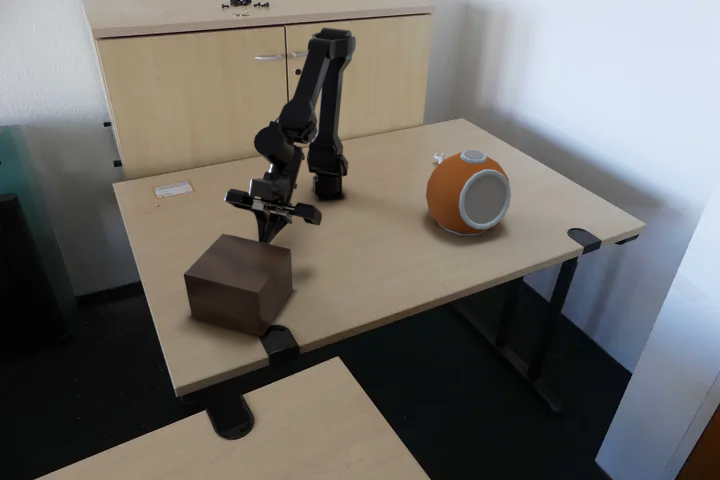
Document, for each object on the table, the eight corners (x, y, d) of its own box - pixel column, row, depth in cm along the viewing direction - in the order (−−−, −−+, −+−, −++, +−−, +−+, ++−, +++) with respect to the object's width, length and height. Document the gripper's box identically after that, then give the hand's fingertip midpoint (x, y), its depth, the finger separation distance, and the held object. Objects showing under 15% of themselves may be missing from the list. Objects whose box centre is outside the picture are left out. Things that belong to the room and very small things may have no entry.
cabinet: (228, 275, 109) (222, 233, 103) (293, 291, 106) (291, 249, 100) (191, 317, 99) (183, 273, 93) (262, 337, 95) (258, 292, 89)
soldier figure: (450, 165, 155) (472, 171, 144) (440, 178, 155) (461, 185, 144) (433, 147, 151) (454, 152, 140) (422, 161, 151) (442, 167, 140)
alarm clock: (447, 249, 119) (458, 180, 109) (410, 210, 132) (417, 145, 122) (518, 232, 125) (535, 165, 115) (476, 196, 138) (488, 133, 128)
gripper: (223, 151, 101) (199, 230, 99) (315, 168, 97) (293, 252, 95) (246, 170, 112) (225, 242, 110) (331, 186, 108) (311, 262, 105)
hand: (261, 249), depth 105 cm, fingers closed
